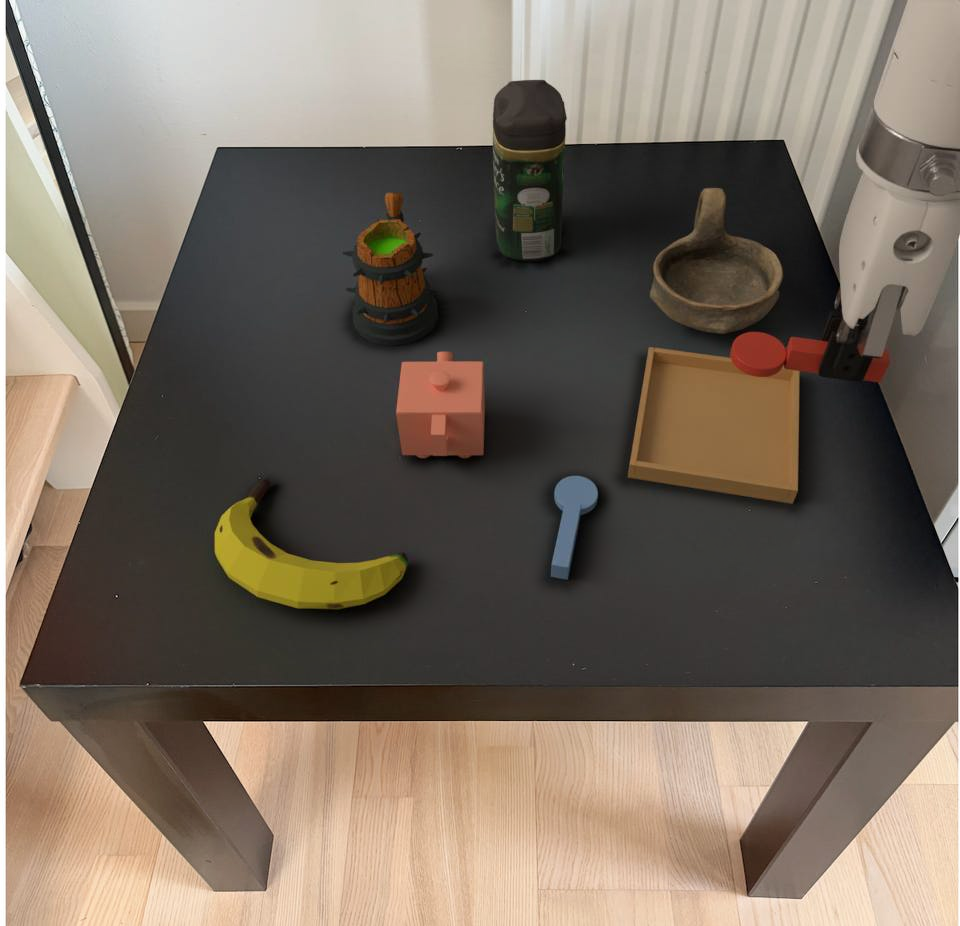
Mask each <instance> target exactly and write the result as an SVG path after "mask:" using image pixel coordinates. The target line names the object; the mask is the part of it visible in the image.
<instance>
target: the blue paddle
mask: <svg viewBox="0 0 960 926" xmlns="http://www.w3.org/2000/svg"><path fill="white" fill-rule="evenodd" d="M553 495H554V496H553V497H554V502H555V504H556V505H555V506H557V508H558V509H559V510H561V512H562V514H561V519H560V523H559V528H558V533H557V536H556V542H555V546H554V552H553V555H552V561H551V568H550V577H551V578H556V579H560V580H565V581H566V580H569V575H570V570H571V565H572V560H573V555H574V550H575V545H576V540H577V535H578V530H579V525H580V521H581V516H582V515H585V514H588V513H590V512H592V510H594V508H595V507H596V505H598V504H597V503H598V498H599V491H598V488H597V486H596V484H595V483H594V482H593V481H592V480H591V479H589V478H588V477H585V476H582V475H570V476H566V477H564V478H562V479H561V480H560V481H559V482H557V484H556V486H555V488H554V494H553Z"/></svg>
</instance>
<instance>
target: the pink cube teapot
mask: <svg viewBox="0 0 960 926" xmlns="http://www.w3.org/2000/svg"><path fill="white" fill-rule="evenodd" d="M436 355H437V356H436V357H437V358H436V361H402V362H401V368H400V375H399V385H398V386H399V387H398V391H397V392H398V394H397V402H396V411H395V415H396V423H397V428H398V435H399V443H400V450H401V455H402V456H416V457H417V458H419V459H426V458H429V457H430V456H433V457H447V456H458V457H459V458H460V459H468V458H470V457H472V456H484V451H485V449H484V446H485V417H486V414H485V412H486V410H485V409H486V398H485V397H486V396H485V371H484V370H485V369H484V367H485V366H484V361H470V360H469V361H466V360H463V361H453V352H452V351H438V352H437V353H436Z"/></svg>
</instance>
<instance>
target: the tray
mask: <svg viewBox="0 0 960 926" xmlns="http://www.w3.org/2000/svg"><path fill="white" fill-rule="evenodd" d="M647 351H648V352H647V355H646V363H645V369H644V375H643V382H642V386H641V394H640V400H639V406H638V412H637V417H636V423H635V429H634V436H633V442H632V447H631V454H630V460H629V466H628V473H627V479H635V480H641V481H646V482H654V483H659V484H667V485H672V486H678V487H685V488H692V489H695V490H696V489H697V490H703V491H709V492H717V493H722V494H728V495H735V496H742V497H746V498H747V497H748V498H753V499H759V500H765V501H772V502H777V503H778V502H779V503H784V504H790V505H793V504H794V502H795V499H796V497H797V494H798V491H799V447H800V445H799V443H800V442H799V437H800V434H799V433H800V373H801V371H796V370H789V369H784V365H783V367H782V369H781V370H780V371H779V372H778V373H776V374H774V375H772V376H768V377H756V376H751V375H748V374H746V373H744V372H742V371H740V370H739V369H738V368H737V367H736V366H735V365H734V364H733V362H732V360H731V357H726V356H720V355H712V354H706V353H705V354H704V353H698V352H689V351H682V350H677V349H676V350H675V349H668V348H659V347H652V346H649V347H648V350H647Z"/></svg>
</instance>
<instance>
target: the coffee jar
mask: <svg viewBox="0 0 960 926" xmlns="http://www.w3.org/2000/svg"><path fill="white" fill-rule="evenodd" d="M495 94H496V95H495V96H494V98H493V109H492V110H493V111H492V167H493V168H492V169H493V170H492V171H493V190H494V191H493V192H494V193H493V194H494V218H495V219H494V221H495V235H496V236H495V237H496V239H495V240H496V243H497V246H498V250H499V251H500V253H501V254H502V255H503V256H504V257H506V258H508V259H511V260H515V261H519V262H537V261H542V260H546V259H549V258H551V257H553V256H555V255H556V254H557V253H558V252H559V251H560V248H561V245H562V230H563V229H562V228H563V225H562V224H563V198H564V197H563V196H564V174H565V173H564V171H565V152H566V151H565V149H566V135H567V127H566V122H567V119H568V116H567V112H566V107H565V106H566V105H565V101H564V99H563V96H562V94H561V92H560V91H558V89H556V88H555V87H554V86H553V85H551V84H550V83H548V82H547V81H546V80H545V79H522V80H511V81H509V82H508V83H507V84H506V85H505V86H503V87H502V88H500V90H499V91H498V92H496V93H495Z"/></svg>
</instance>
